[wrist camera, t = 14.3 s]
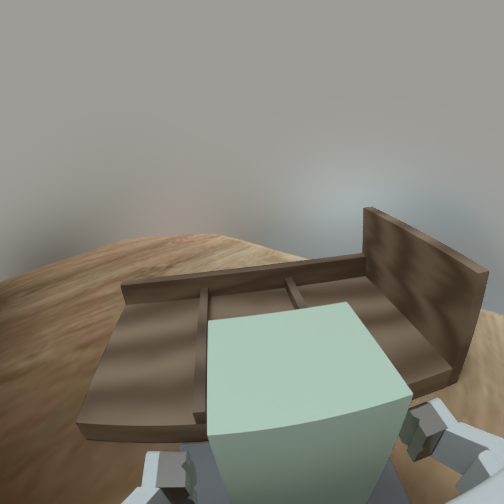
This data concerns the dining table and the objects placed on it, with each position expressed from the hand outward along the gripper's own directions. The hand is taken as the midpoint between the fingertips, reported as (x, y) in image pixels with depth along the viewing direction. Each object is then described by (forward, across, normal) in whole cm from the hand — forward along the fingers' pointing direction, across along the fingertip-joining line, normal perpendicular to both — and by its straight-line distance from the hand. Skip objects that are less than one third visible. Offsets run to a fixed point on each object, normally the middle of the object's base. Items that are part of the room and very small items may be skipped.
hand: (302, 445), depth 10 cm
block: (0, 0, +8) cm, 8 cm away
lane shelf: (+17, 0, +8) cm, 19 cm away
